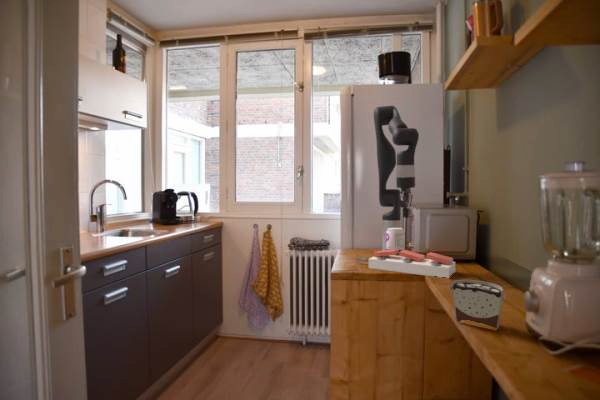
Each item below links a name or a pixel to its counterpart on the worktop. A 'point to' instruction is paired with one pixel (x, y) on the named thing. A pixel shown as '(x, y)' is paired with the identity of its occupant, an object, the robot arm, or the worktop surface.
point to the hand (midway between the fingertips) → (406, 217)
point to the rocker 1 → (386, 252)
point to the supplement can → (395, 239)
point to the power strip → (411, 266)
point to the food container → (477, 301)
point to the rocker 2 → (439, 258)
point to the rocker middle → (411, 255)
